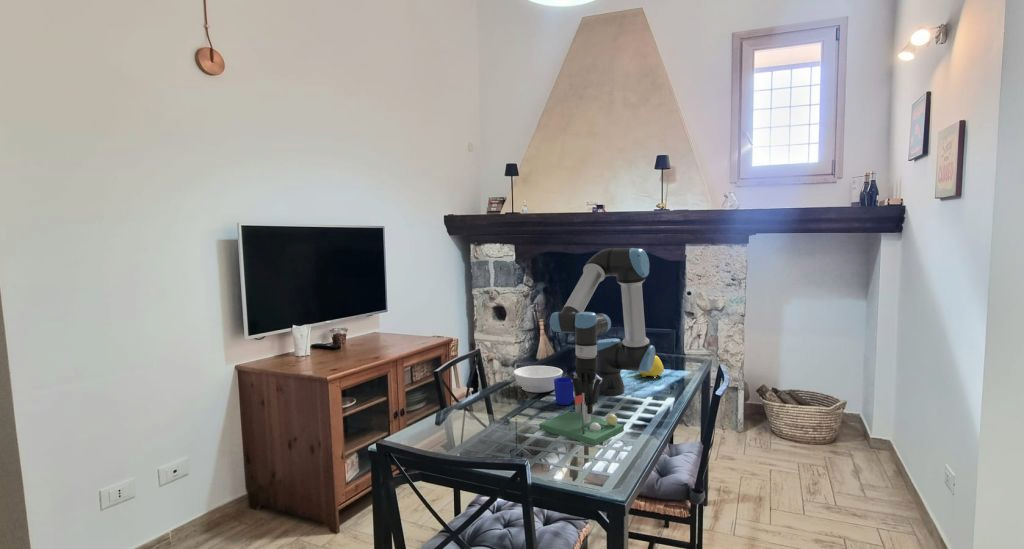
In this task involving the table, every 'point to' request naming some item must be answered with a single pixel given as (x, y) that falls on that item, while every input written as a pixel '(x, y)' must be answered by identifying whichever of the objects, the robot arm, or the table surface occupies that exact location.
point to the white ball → (595, 427)
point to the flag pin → (579, 400)
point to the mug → (564, 391)
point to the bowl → (537, 378)
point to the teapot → (654, 368)
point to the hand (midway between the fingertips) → (586, 421)
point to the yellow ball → (611, 419)
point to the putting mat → (580, 428)
